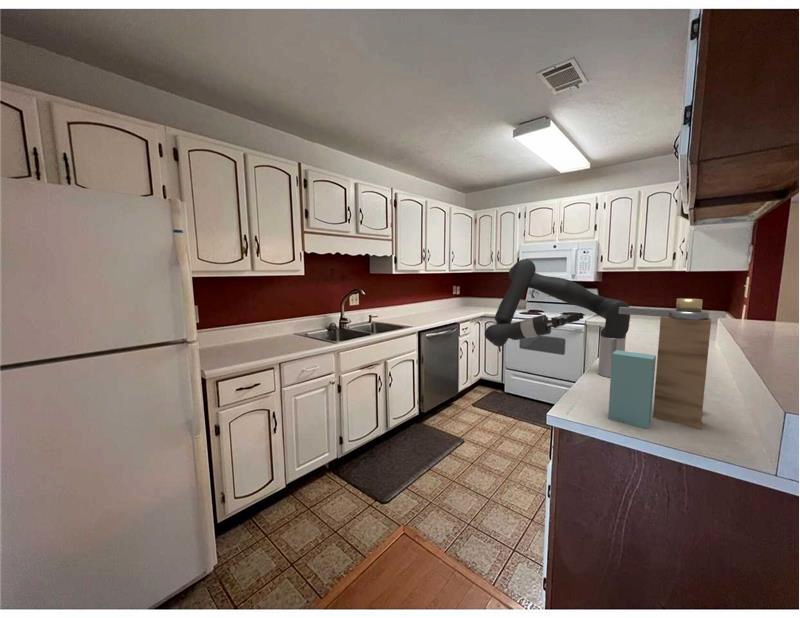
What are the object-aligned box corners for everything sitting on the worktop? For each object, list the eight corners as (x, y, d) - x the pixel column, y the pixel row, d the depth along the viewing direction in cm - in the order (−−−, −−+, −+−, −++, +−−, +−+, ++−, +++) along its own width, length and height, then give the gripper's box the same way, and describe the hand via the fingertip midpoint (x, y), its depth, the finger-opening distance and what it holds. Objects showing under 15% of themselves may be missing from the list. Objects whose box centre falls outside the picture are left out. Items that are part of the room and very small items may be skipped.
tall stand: (655, 411, 105) (663, 314, 101) (701, 422, 97) (711, 318, 93) (652, 417, 100) (660, 317, 96) (700, 429, 93) (711, 320, 89)
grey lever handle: (622, 311, 109) (623, 295, 109) (709, 317, 94) (711, 298, 94) (616, 314, 103) (617, 297, 102) (708, 321, 88) (710, 301, 87)
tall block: (612, 412, 104) (616, 350, 102) (650, 422, 97) (655, 355, 95) (608, 418, 100) (612, 353, 98) (647, 428, 93) (653, 359, 91)
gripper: (527, 319, 119) (574, 307, 109) (537, 316, 130) (581, 305, 121) (533, 338, 118) (581, 328, 108) (543, 334, 130) (587, 324, 120)
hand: (580, 316), depth 115 cm, fingers open, 8 cm apart
